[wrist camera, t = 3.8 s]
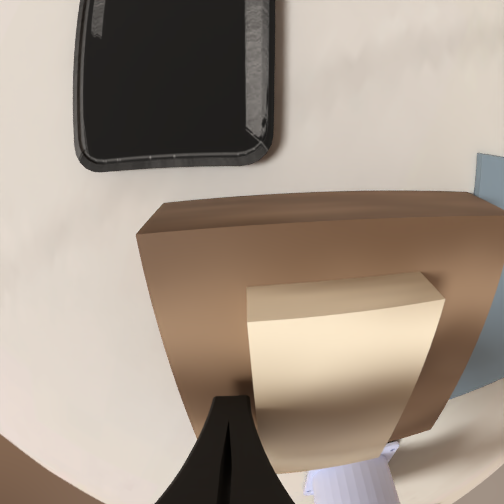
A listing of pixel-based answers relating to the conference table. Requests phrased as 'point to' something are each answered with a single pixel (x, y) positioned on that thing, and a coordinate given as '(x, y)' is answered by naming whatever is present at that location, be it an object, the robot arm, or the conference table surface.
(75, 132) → the phone
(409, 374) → the birch block
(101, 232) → the conference table surface
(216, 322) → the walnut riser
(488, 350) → the rubber mat
